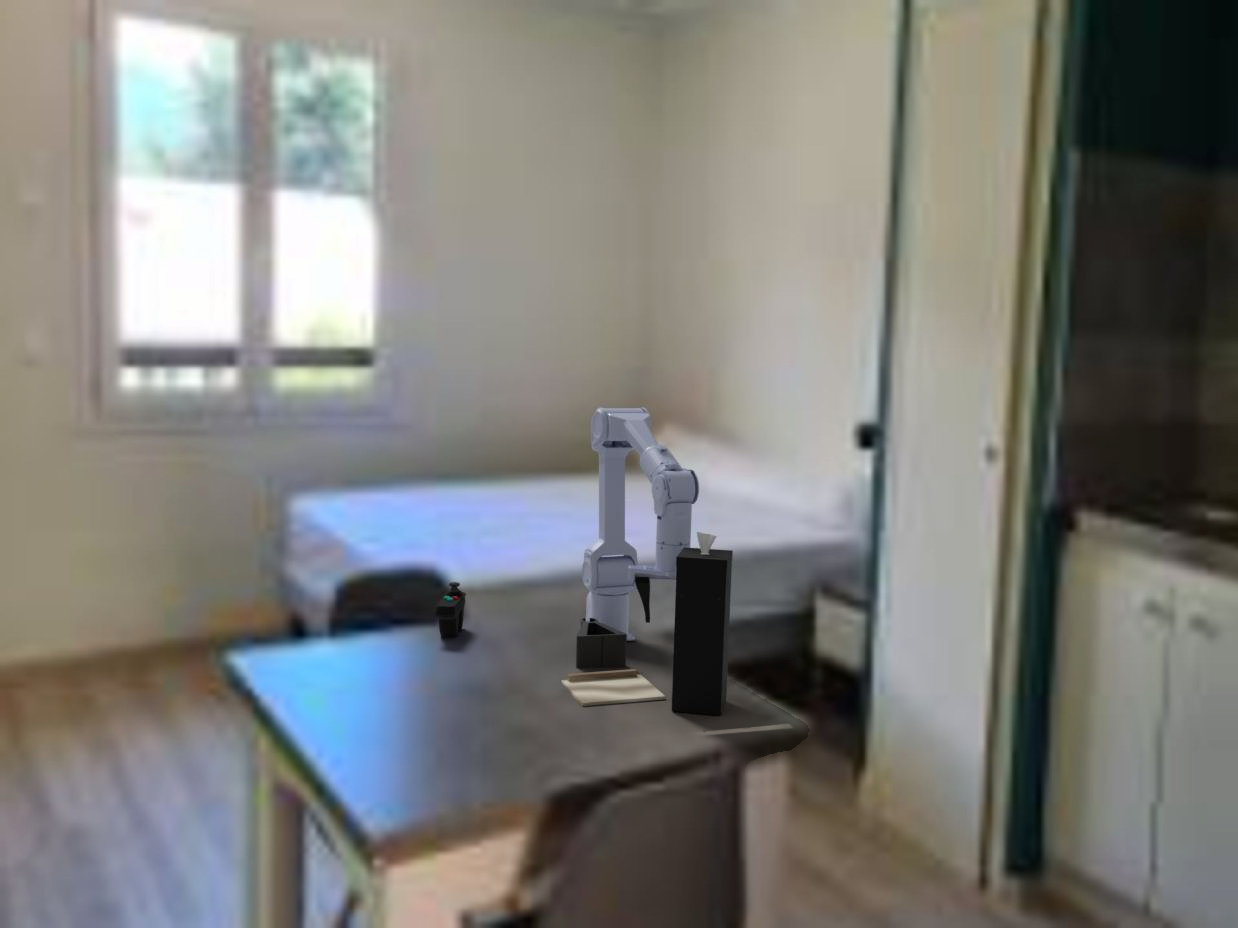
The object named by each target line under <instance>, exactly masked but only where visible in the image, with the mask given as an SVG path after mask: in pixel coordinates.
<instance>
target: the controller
mask: <svg viewBox="0 0 1238 928" xmlns="http://www.w3.org/2000/svg"><path fill="white" fill-rule="evenodd" d="M460 585H461V583H459V582H455V581H451V582H449V583H448V586H449V587H450V589H448V590H447V591H446V592H445V593H443V595H442V596H441V597H440V598H441V600H440V601H439V602H438V604H437V605H436V608H435V611H434V615H435V616H436V617H438V628H439V634H440V636H441V637H442V638H457V637H459V636H460V634H461V632H462V631H463V625H464V616H465V615H464V611H465V606H466V596H467V593H466V592H463V591H461V589H459V588H458V587H460Z"/></svg>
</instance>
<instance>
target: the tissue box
mask: <svg viewBox="0 0 1238 928" xmlns="http://www.w3.org/2000/svg"><path fill="white" fill-rule="evenodd" d="M696 537H697V542H698V546H699V548H698V547H690V548H687V547H684V548H683V549H682V550H681V552H680V553H679V554H678V555H677V557H676V567H677V570H676V580H675V600H674V603H675V604H674V607H675V608H674V632H673V662H672V664H673V665H672V691H671V711H672V712H678V713H679V712H680V713H691V714H699V715H710V716H711V715H712V716H722V713H723V711H724V708H725V705H726V701H727V692H728V688H727V687H728V669H729V668H728V665H729V641H730V621H731V620H730V615H731V614H730V613H731V593H732V590H731V589H732V588H731V587H732V569H733V568H732V567H733V564H732V563H733V553H734V550H732V549H730V550H729V549H728V550H727V549H715V548H714V549H713V548H711V547H712V545H713V544H714V542H715V541H716V538H717V535H714V534H710V533H703V532H701V531H700V532H699V531H696Z"/></svg>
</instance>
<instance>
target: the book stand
mask: <svg viewBox="0 0 1238 928" xmlns="http://www.w3.org/2000/svg"><path fill="white" fill-rule="evenodd" d="M561 684H562V685H563V686H564V687H565V688H566V689H567V691H568V692H569V693H570V694H571V695H572V696H573V697H574V699H575V700H576V701H577V702H578V703H579V704H580V705H581V707H586V706H587V707H588V706H598V705H599V706H601V705H610V704H611V705H612V704H624V703H636V702H637V703H638V702H646V701H647V702H648V701H650V702H651V701H660V700H661V701H662V700H666V696H665V694H664V693H662V692H661V691H660V690H659V689H658V688H656V687H655V686H654V684H652V683H651V682H650V681H649V680H647V678H645V676H643V675H642V674H640V673H639V674H638V670H637V669H636V668H633V669H632V668H630V669H629V668H628V669H617V670H604V671H603V670H602V671H592V672H589V671H588V672H578V673H577V672H574V673H567V677H566V679H561Z"/></svg>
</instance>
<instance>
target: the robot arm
mask: <svg viewBox="0 0 1238 928" xmlns="http://www.w3.org/2000/svg"><path fill="white" fill-rule="evenodd" d="M651 416H652V415H651V414H650V412H649V411H648V409H647V408H646V407H642V406H641V407H639V408H638V407H634V408H633V407H632V408H629V407H627V408H626V407H625V408H618V407H617V408H616V407H615V408H614V407H613V408H612V407H609V408H605V407H598V408H596V411H594V413H593V416H592V418H591V421H590V441H591V442H590V443H591V449H592V451H594V452H596V453H598V538H597V540H595V541H594V542H593V543H592V544H591V545H589V546H587V548H585V550H584V554H583V562H582V568H581V578H582V583H583V584H584V587H585V588H586V589H587V590H588V591H589V592H588V594H587V596H586V603H585V604H586V605H585V607H586V608H585V610H586V611H585V613H586V614H585V618H586V621H587V622H590V618H595V619H597V621H598V622H600V623H602V624H605V625H607V626H610V627H612V628H614V629H617V630H619V631H621V632H624V633H626V634H627V642H628V641H629V642H630V641H635V640H636V637H635V636H633V635H632V634H631V632H629V606H630V604H629V603H630V593H633V588H636V589H637V592H638V594H639V596H640V600H641V602H642V606H643V611H644V617H645V619H644V620H645V623H646V624H647V623H648V624H649V623H651V611H650V608H651V607H650V601H651V600H650V599H651V598H650V597H651V580H672V581H673V580H675V581H676V570H677V567H676V557H677V555H678V554H679V553H680V552H681V550H682V549H683V548H684V547H687V548H691V539H692V537H691V536H692V535H691V534H692V533H691V532H692V510H693V508H692V507H693V505H694V504H695V503H696V502H697V501H698V497H699V493H700V485H699V484H700V483H699V479H698V476H697V474H696V472H695V470H694V469H692V468H690V469H687V467H686V468H685V467H682V466H681V465H680V463H679V462H678V461H677V459H676V458H675V457H674V455H673V454H672V452H671V450H669V448H668V447H667V446H666V445H663V444H658V441H657V440H656V438H655V436H654V434H653V431H652V427H653V426H652V417H651ZM632 451H635V452H636V453H637V454H638V455H639V456H640V459H639V466H640V469H641V470H642V472H643V473H644V475H645V476H646V477H647V479H648V481H649V482H650V484H651V494H652V499H653V511H654V514H655V515H656V534H655V535H656V536H655V537H656V538H655V561H654V562H655V564H650V565H649V564H648V565H647V564H646V565H644V564H643V565H639V561H638V553H637V549H636V548H635V547H634V546H633V545H631V543H629V542H627V541H626V457H627V456H628V455H629V453H630V452H632Z"/></svg>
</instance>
